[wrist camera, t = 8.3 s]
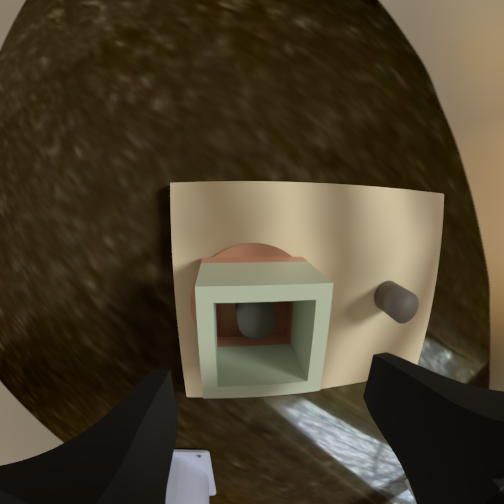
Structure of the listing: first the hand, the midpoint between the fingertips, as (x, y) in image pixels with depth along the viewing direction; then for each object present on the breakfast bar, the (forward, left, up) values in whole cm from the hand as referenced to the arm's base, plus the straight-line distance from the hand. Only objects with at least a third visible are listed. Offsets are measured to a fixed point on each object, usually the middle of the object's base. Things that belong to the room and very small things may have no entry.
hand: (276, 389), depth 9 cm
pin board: (+5, 0, -9) cm, 10 cm away
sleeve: (0, 0, -8) cm, 8 cm away
